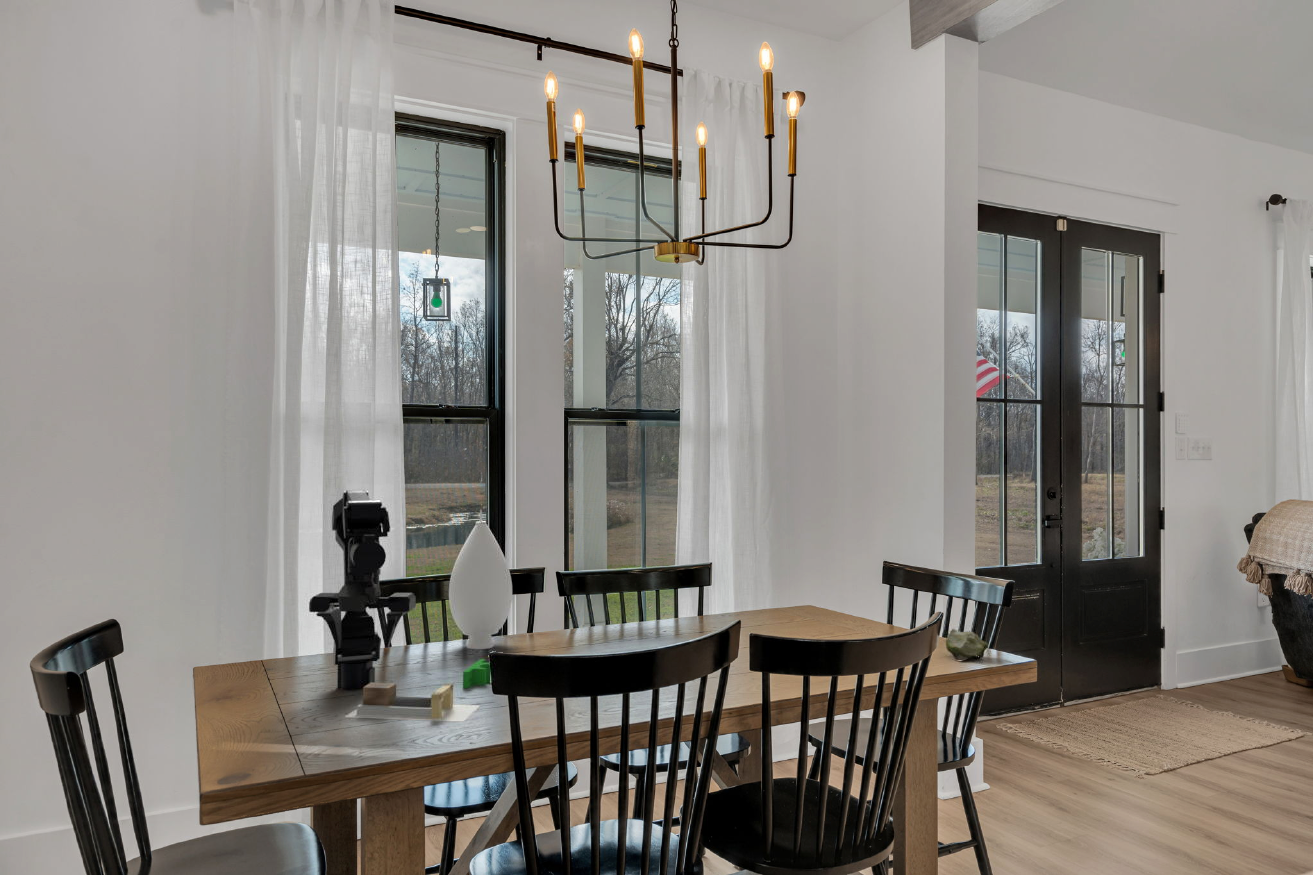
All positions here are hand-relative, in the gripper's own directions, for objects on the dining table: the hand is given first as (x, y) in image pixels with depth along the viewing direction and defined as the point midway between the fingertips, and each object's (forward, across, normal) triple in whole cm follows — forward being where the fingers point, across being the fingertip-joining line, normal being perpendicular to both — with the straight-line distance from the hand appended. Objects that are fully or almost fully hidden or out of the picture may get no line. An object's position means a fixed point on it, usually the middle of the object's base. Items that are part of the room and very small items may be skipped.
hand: (362, 647), depth 166 cm
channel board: (+12, +11, -3) cm, 17 cm away
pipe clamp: (+13, +19, +18) cm, 29 cm away
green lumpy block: (+12, +133, +40) cm, 140 cm away
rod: (+11, +11, -3) cm, 16 cm away
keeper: (+11, +4, -2) cm, 12 cm away
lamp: (+13, +14, +55) cm, 58 cm away
